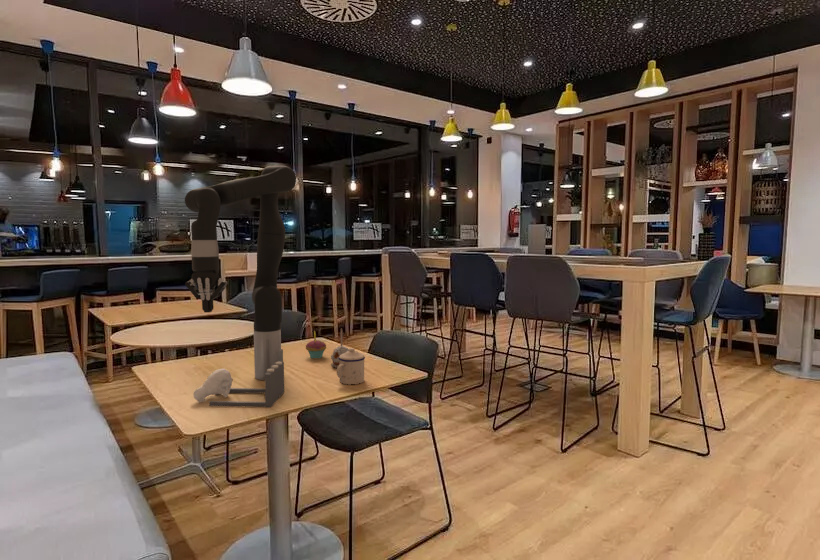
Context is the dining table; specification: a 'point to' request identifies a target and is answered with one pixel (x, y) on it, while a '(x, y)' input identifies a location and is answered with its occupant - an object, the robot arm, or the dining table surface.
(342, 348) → the decorative ornament
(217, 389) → the cream figurine
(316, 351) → the cupcake
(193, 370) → the dining table surface
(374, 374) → the dining table surface
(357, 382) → the teacup with lid
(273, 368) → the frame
